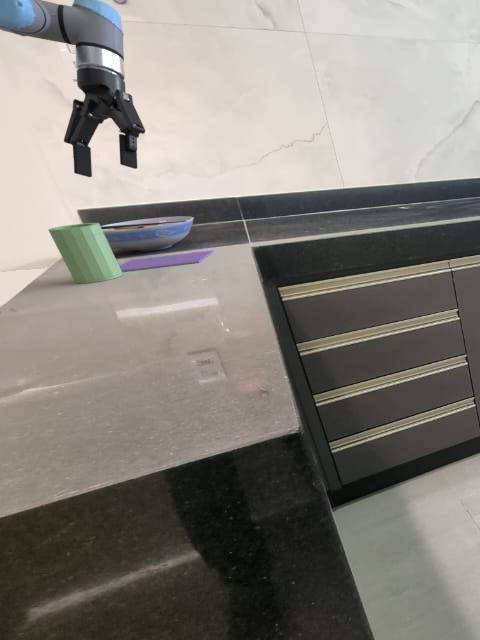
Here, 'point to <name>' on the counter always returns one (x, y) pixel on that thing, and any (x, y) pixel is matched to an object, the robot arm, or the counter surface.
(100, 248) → the green faceted cylinder
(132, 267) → the towel
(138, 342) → the counter surface
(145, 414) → the counter surface
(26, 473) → the counter surface
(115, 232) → the ramen bowl
